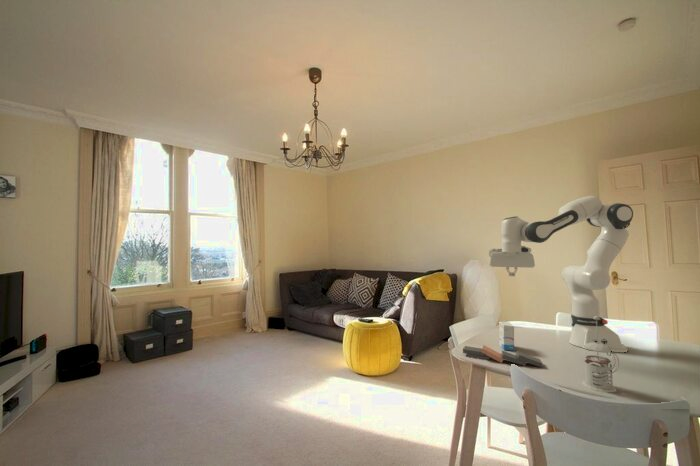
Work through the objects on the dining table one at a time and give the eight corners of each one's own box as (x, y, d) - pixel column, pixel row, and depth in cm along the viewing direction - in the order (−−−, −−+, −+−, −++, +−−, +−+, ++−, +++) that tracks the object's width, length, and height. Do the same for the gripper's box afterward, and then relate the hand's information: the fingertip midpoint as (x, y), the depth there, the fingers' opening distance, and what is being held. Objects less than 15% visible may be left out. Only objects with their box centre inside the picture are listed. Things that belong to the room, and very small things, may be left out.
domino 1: (485, 349, 146) (465, 345, 151) (483, 352, 142) (462, 349, 147) (485, 353, 146) (465, 349, 151) (484, 356, 142) (463, 353, 147)
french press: (575, 380, 120) (573, 312, 120) (607, 380, 119) (605, 312, 120) (594, 392, 110) (592, 319, 110) (629, 392, 110) (627, 319, 110)
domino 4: (524, 357, 138) (502, 350, 141) (526, 362, 133) (503, 354, 137) (523, 361, 138) (501, 354, 141) (525, 366, 134) (502, 358, 137)
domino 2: (490, 353, 145) (469, 350, 149) (488, 357, 141) (467, 354, 145) (490, 358, 145) (469, 354, 149) (488, 361, 141) (467, 358, 145)
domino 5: (539, 359, 136) (517, 350, 139) (542, 363, 132) (519, 354, 134) (538, 363, 136) (515, 354, 139) (541, 367, 132) (517, 358, 134)
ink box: (515, 351, 152) (514, 325, 152) (503, 350, 153) (503, 325, 153) (509, 345, 160) (509, 321, 160) (499, 344, 161) (498, 320, 161)
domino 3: (504, 355, 141) (483, 344, 146) (503, 359, 137) (482, 348, 141) (502, 359, 142) (482, 348, 146) (501, 363, 137) (480, 351, 142)
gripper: (488, 248, 164) (489, 276, 164) (534, 248, 155) (535, 277, 155) (489, 248, 170) (490, 274, 170) (533, 248, 161) (534, 276, 160)
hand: (512, 276), depth 162 cm, fingers closed
